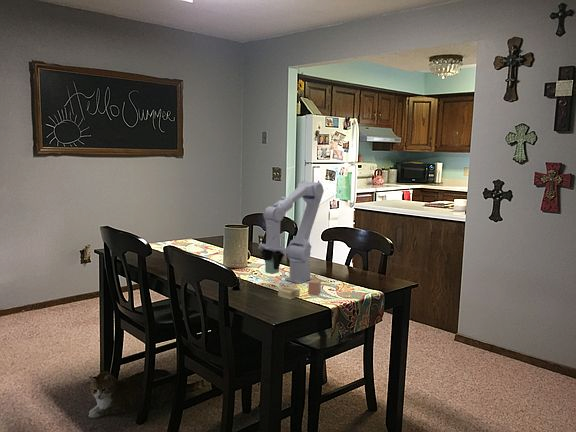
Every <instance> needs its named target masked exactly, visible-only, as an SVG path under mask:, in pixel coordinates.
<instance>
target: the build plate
mask: <svg viewBox="0 0 576 432" xmlns="http://www.w3.org/2000/svg"><path fill="white" fill-rule="evenodd" d="M236 277H237V285H236V286H235V287H233V288H230V287H228V291H232V292H233V291H236V292H238V291H239V292H242V291H243V290H244V283H241V276H236Z"/></svg>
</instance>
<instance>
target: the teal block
mask: <svg viewBox="0 0 576 432" xmlns="http://www.w3.org/2000/svg"><path fill="white" fill-rule="evenodd" d="M264 263H265V265H264V267H265V268H264V271H265V272H264V273H267V274H269V275H274V274H278V273H280V268H279V269H276V270H275V269H274V259H273V258H272V259H270V260H266V261H265V260H264Z"/></svg>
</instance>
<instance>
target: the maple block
mask: <svg viewBox="0 0 576 432" xmlns="http://www.w3.org/2000/svg"><path fill="white" fill-rule="evenodd" d="M277 291H278V292H277V296H278V297H280V298H283V299H284V298H285V299H286V300H293V299H294V298H298V297H300V295H301V294H300V293H301V290H300V288H295V287H292V286H289V285H288V286H285V287H281V288H279V289H278V290H277Z"/></svg>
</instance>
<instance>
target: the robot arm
mask: <svg viewBox="0 0 576 432" xmlns="http://www.w3.org/2000/svg"><path fill="white" fill-rule="evenodd" d="M324 191H325V190H324V187H323V184H322V183H321V182H316V181H314V182H313V181H305V180H302V181H300V182H299V183H298V184H297V186H296V188H295V189H294V190H293V191H292V192H291V193H290V194H289V195H288V196H281V197H280V199H279V200H278V201H277V202H275V203H273V205H272V206H269V205H268V206H267V207H266V208H265V209H264V211H263V213H262V215H263V218H264V221H265V222H264V223H265V226H266V229H265V233H266V234H265V235H266V236H265V243H258V249H259V250H261V249H262V250H261V251H260V253H261V255H262V257H263V260H264V262H265V261H266V260H270V259H274V269H275V270H276V269H279V270H280V266H281V262H282V260H283V258H284V255H286V257H287V258H288V261H289V277H287V278H285V281H288V282H291V283H295V284H302V283H305V282H309V281H310V280H313V278H312V277H311V270H312V269H311V267H312V266H311V262H310V260H309V259H310V257H311V249H312V245H311V244H310V242H309V239H310V235H311V233H312V229H313V226H314V223H315V220H316V218H317V217H316V216H317V213H318V211H319V208H320V204H321V201H322V198H323V195H324ZM301 198H302V200H303V201H304V202H305V204H306V206H305V209H304V212H303V214H302V218H301V221H300V224H299V228H298V230H297V234H296V237H295V238H293V239H291V240H290V241H289V244H288V245H287V247H284V246H281V221H283V219H284V216H285V215H286V213H287V212H289V211H290V210H291V209H292V208H293V206H294V203H296V202H297V201H298V200H300V199H301Z"/></svg>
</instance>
